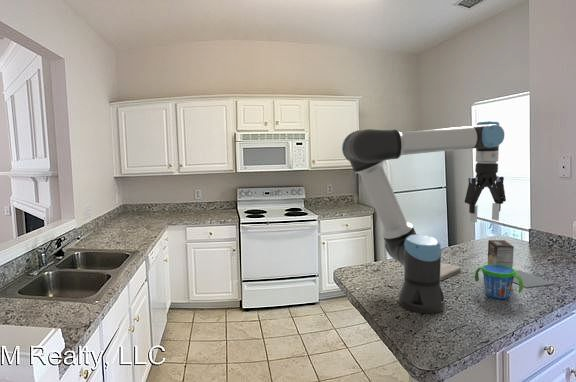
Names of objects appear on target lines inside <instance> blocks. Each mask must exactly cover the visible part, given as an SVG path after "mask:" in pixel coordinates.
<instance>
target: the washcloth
mask: <svg viewBox="0 0 576 382" xmlns="http://www.w3.org/2000/svg"><path fill="white" fill-rule="evenodd" d="M461 272H462V267H461V266H459V265H452V264H449V263H446V262H442V261H441V266H440V281H443V280H446V279H448V278H450V277H452V276H454V275H456V274H460V273H461Z"/></svg>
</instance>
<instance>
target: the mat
mask: <svg viewBox="0 0 576 382" xmlns="http://www.w3.org/2000/svg"><path fill="white" fill-rule="evenodd" d="M515 272H516V273H517V274H518V275H519V276H520V277H521V279H522V282H523V288H525V289H530V288H537V287H543V286H544V287H545V286H553V285H555V283H553V282H551V281H549V280H546V279H544V278H541V277H538V276H536V275H533V274H530V273H528V272H525V271H523V270H515ZM513 284H516V285H519V286H520V284H519V280H518V279H517V278H516V277H514V279H513Z"/></svg>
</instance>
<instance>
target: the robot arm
mask: <svg viewBox="0 0 576 382" xmlns="http://www.w3.org/2000/svg"><path fill="white" fill-rule="evenodd" d="M504 139H505V130H504V128H503V127H502V126H500V122H499V121H497V120H486V121H479V122H477V124H476V125H472V126H471V125H469V126H460V127H459V126H456V127H447V128H437V129H435V128H434V129H424V130H413V131H401V132H400V131H399V130H398V129H371V128H369V129H363V130H356V131H352V132H351V133H349V134H348V135H347V136H346V137H345V138H344V139H343V143H342V145H341V151H342V154H343V156H344V159H346V160H347V161H348V162H349V163H350V165H351V167H352V170H353V172H354V173H355V174H358V175H360V177H361V180H362V183H363V185H364V187H365V189H366V191H367V193H368V196H369V198H370V201H372V202H371V203H372V206H373V207H374V209H375V211H376V215H377V216H378V218H379V220H380V222H381V225H382V226H383V227H382V228H383V229H384V231H383V232H382V233H383V234H382V236H383V239H384V247H385V251H386V252H387V254H388V255H389V256H390V257H391V258H392V259H393V260H395V261H396V262H398V263H399V264H401V265H402V266H403V267H404V272H403V273H404V276H403V277H404V280H403V283H402V286H401V290H400V291H399V292H400V293H399V294H398V303H399V305H400V306H401V307H403V308H404V309H406V310H408V311H411V312H414V313H419V314H437V313H440V312H442V311H444V310H445V309H446V299H445V295H444V293H443V290H442V287H441V280H440V266H441V262H442V261H441V259H442V257H441V256H442V248H441V247H442V246H441V243H440V242H439V241H438V239H436V238H434V237H432V236H430V235H425V234H417V233H416V232H417V231H416V230H415V228H414V226H413V224H412V223H411V222H408V221H407V220H406V217H405V216H404V213H403V210H402V209H401V206H400V204H399V201H398V199H397V197H396V194H395V192H394V189H393V188H392V186H391V185H392V184H391V183H390V180H389V178H388V176H387V173H386V172H385V169H384V167H383V163H384V161H388V160H397V159H400V157H401V156H407V155H415V154H416V155H418V154H427V153H428V154H429V153H438V152H446V151H447V152H448V151H457V150H458V151H459V150H470V149H475V162H476V163H475V168H474V169H475V170H474V171H475V174H476V175H475V176H474V177H469V178H468V179H467V180H468V184H467V190H466V193H465V198H464V203H465V204H467V205H468V207H469V209H468V210H469V211H468V212H469V214H470V217H469V220H470V222H472V223H478V207H479V205H477V202H478V200H479V198H480V195H481V194H482V192H483V190H484V189H486V188H487V189H489V192H490V194H491V197H492V199H493V201H494V202H493V203H492V205H491V208H492V209H491V220H493V221H498V222H499V221H500V212H501V205H503V204H504V202H506V201H507V200H506V199H507V198H506V193H505V192H506V191H505V186H504V180H505V177H504V176H501V175H499V176H498V175H497V173H498V172H499V163H498V162H499V154H500V153H499V151H500V149H499V148H500V145H501V144H502V143H504Z"/></svg>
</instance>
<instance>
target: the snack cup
mask: <svg viewBox="0 0 576 382" xmlns="http://www.w3.org/2000/svg"><path fill="white" fill-rule="evenodd" d="M480 271H481V272H482V274H483V275H482V276H483V283H484V290H485V294H486V295H487V296H488V297H490V298H493V299H498V300H506V299H509V298H510V296H511V291H512V288H513V284H514V282H513V279H514V277H516V278H517V279H518V280H519V284H520V285H519V286H518V287H519V288H518V293H519V294H521V293H522V291H523V289H524V287H523V282H522V279H521V277H520V276H519V275H518V274H517V273H516V272H515V271H516V269H514V268H513V267H512V268H510V267H507V266H503V265H494V264H490V265H488V264H484V265H482V266H480V267H478V268H477V269H476V271H475V273H474V280H475V282H476V283H477V282H479V281H480V277H479V272H480Z"/></svg>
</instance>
